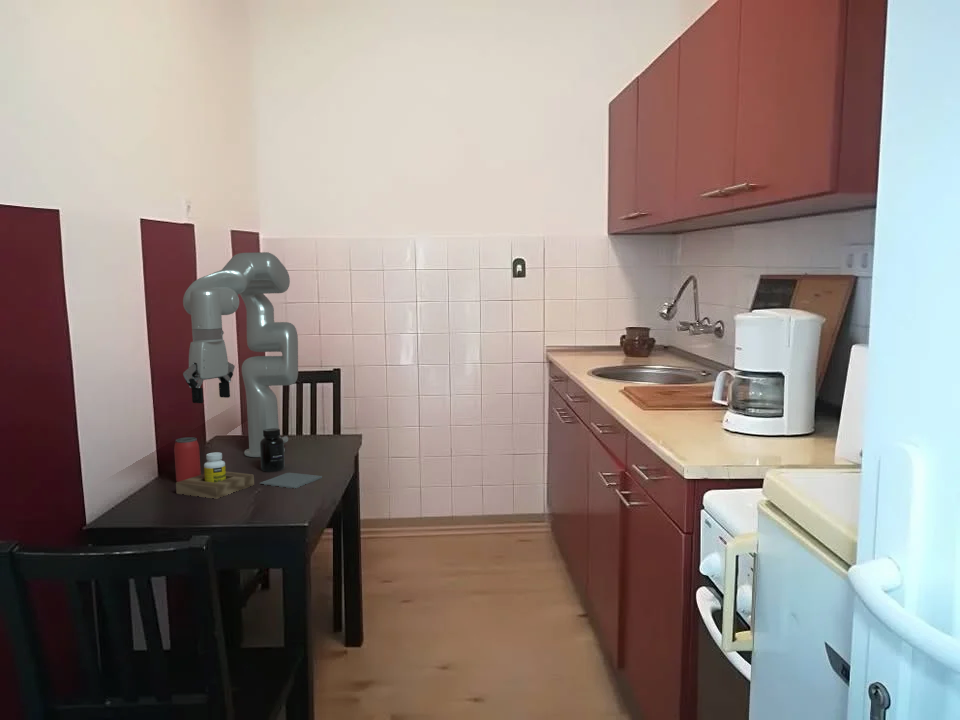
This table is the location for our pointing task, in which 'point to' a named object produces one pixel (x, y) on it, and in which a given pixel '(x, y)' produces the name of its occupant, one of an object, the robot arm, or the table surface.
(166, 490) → the table surface
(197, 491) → the holder
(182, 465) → the beer can
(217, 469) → the supplement bottle
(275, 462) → the supplement bottle
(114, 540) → the table surface
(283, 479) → the mat
